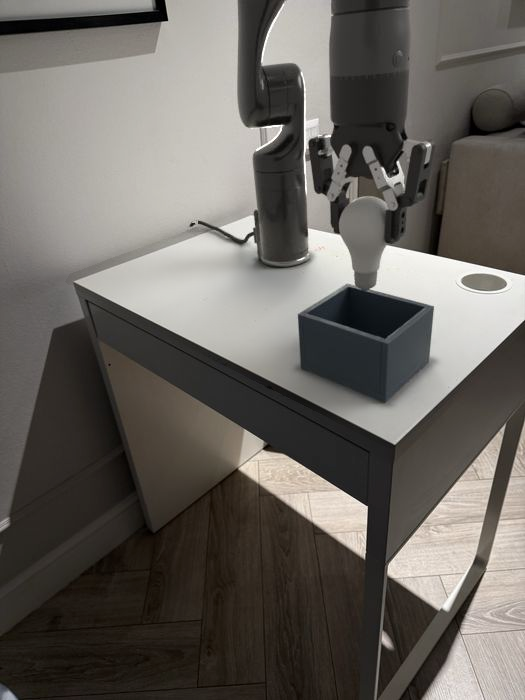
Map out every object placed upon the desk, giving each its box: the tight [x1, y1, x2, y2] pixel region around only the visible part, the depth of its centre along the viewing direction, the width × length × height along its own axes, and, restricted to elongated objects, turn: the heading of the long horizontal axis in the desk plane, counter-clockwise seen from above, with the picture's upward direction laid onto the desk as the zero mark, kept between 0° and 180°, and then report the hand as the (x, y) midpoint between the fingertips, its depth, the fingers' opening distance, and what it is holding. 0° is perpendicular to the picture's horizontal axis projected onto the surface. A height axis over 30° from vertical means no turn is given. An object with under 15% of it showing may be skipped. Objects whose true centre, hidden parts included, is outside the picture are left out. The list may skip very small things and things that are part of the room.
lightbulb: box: [339, 195, 389, 291], centre depth 59 cm, size 6×6×11 cm
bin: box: [297, 283, 435, 403], centre depth 65 cm, size 13×11×8 cm
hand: (366, 236), depth 58 cm, fingers closed on lightbulb, 6 cm apart
